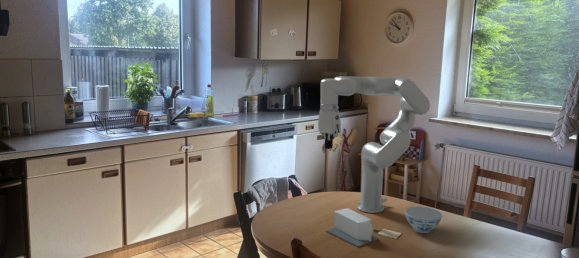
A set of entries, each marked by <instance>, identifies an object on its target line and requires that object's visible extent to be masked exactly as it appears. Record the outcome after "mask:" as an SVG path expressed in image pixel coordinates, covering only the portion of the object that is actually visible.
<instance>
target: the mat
mask: <svg viewBox="0 0 579 258" xmlns="http://www.w3.org/2000/svg"><path fill="white" fill-rule="evenodd" d="M326 233H328V234H329V235H332V236H334V237H335V238H338V239H339V240H342V241H345V242H346V243H349V244H350V245H352V246H353V247H354V246H355V247H357V248H360V247H363V246H365V245H368V244H371V243H374V242H377V241H379V240H380V238H379V237H377V236H374V235H371V241H368V240H357V239H355V238H353V237H352V236H350V235H348V234H346V233H344V232H342V231H341V230H339V229H337V228H335V227H333V228H330V229H327V230H326Z"/></svg>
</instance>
